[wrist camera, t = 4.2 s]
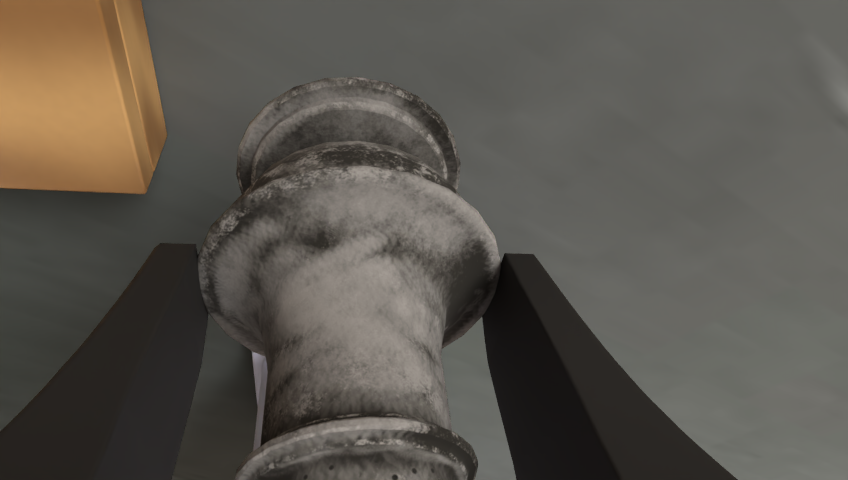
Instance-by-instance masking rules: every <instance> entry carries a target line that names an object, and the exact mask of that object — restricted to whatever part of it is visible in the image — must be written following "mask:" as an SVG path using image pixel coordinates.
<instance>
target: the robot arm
mask: <svg viewBox="0 0 848 480" xmlns="http://www.w3.org/2000/svg"><path fill="white" fill-rule="evenodd" d="M197 258H198V254H197V248H196V244H169V243H160V244H159V245H158V246H156V247H155V248H154V250H153V251H152V253H151V254H150V256H149V257H148V259H147V260H146V261H145V263H144V264H143V266H142V267H141V269H140V270H139V271H138V273H137V274H136V276H135V277H134V279H133V280H132V281H131V283H130V284H129V285H128V287H127V288H126V289H125V291H124V292H123V293H122V295H121V296H120V297H119V299H118V300H117V301H116V303H115V304H114V305H113V307H112V308H111V309H110V310H109V312H108V313H107V314H106V315H105V317H104V318H103V319H102V320H101V322H100V323H99V324H98V325H97V327H96V328H95V329H94V330H93V332H92V333H91V334H90V335H89V337H88V338H87V339H86V340H85V341H84V343H83V344H82V345H81V346H80V347H79V348H78V350H77V351H76V352H75V353H74V354H73V355H72V356H71V357H70V359H69V360H68V361H67V362H66V363H65V364H64V365H63V366H62V368H61V369H60V370H59V371H58V372H57V373H56V374H55V376H54V377H53V378H52V379H51V380H50V381H49V382H48V383H47V385H46V386H45V387H44V388H43V389H42V390H41V391H40V392H39V393H38V394H37V395H36V396H35V397H34V398H33V399H32V400H31V401H30V402H29V403H28V405H27V406H26V407H25V408H24V409H23V410H22V411H21V412H20V413H19V414H18V415H17V416H16V417H15V418H14V419H13V420H12V421H11V422H10V423H9V424H8V425H7V426H5V427H4V428H3V429H2V430H1V431H0V480H172V475H173V471H174V468H175V464H176V460H177V456H178V452H179V449H180V445H181V441H182V437H183V433H184V430H185V426H186V422H187V418H188V414H189V411H190V407H191V403H192V399H193V395H194V391H195V388H196V384H197V380H198V376H199V372H200V368H201V364H202V357H203V350H204V343H205V335H206V328H207V320H208V312H207V310H206V307H205V304H204V301H203V297H202V294H201V288H200V282H199V274H198V265H197ZM482 318H483V327H484V336H485V344H486V352H487V359H488V365H489V369H490V373H491V377H492V381H493V386H494V390H495V394H496V398H497V402H498V406H499V409H500V413H501V417H502V421H503V425H504V429H505V433H506V437H507V441H508V445H509V449H510V453H511V457H512V461H513V465H514V470H515V474H516V479H517V480H737V479H736V478H735V477H734V476H733V475H731V474H730V473H729V472H728V471H727V470H726V469H724V468H723V467H722V466H721V465H720V464H719V463H718V462H716V461H715V460H714V459H713V458H712V457H711V456H710V455H708V454H707V453H706V452H705V451H704V450H703V449H702V448H700V447H699V446H698V445H697V444H696V443H695V442H694V441H693V440H692V439H690V438H689V437H688V436H687V435H686V434H685V433H684V432H683V431H682V430H681V429H680V428H679V427H678V426H677V425H676V424H675V423H674V422H673V421H672V420H671V419H670V418H669V417H668V416H667V415H666V414H665V413H664V412H663V411H662V410H661V409H660V408H659V407H658V406H657V405H656V404H655V403H653V402H652V401H651V399H650V398H649V397H648V396H647V395H646V394H645V393H644V392H643V391H642V390H641V389H640V388H639V387H638V386H637V385H636V383H635V382H634V381H633V380H632V379H631V378H630V377H629V376H628V374H627V373H626V372H625V371H624V370H623V369H622V368H621V366H620V365H619V364H618V363H617V362H616V361H615V360H614V358H613V357H612V356H611V355H610V354H609V352H608V351H607V350H606V349H605V348H604V346H603V345H602V344H601V343H600V341H599V340H598V339H597V338H596V336H595V335H594V334H593V333H592V331H591V330H590V329H589V328H588V326H587V325H586V324H585V323H584V321H583V320H582V319H581V317H580V316H579V315H578V313H577V312H576V311H575V310H574V308H573V307H572V306H571V304H570V303H569V302H568V300H567V299H566V297H565V296H564V295H563V293H562V292H561V291H560V289H559V288H558V287H557V285H556V284H555V283H554V281H553V280H552V278H551V277H550V276H549V274H548V273H547V272H546V270H545V269H544V268H543V266H542V265H541V264H540V262H539V261H538V260H537V258H536V257H535V256H534V254H507V253H505V254H504V257H503V260H502V262H501V270H500V276H499V280H498V283H497V287H496V291H495V294H494V296H493V298H492V300H491V302H490V304H489V306H488V308H487V310H486V312H485V313H484V315H483V316H482ZM252 360H253V369H254V378H255V388H256V397H257V406H258V411H257V420H256V429H255V438H254V447H253V451H254V450H256V449H257V448H259V447H260V443H261V434H262V424H263V414H264V404H265V394H266V384H267V374H268V370H267V362H266V357H265V356H262V355H260V354H257V353H255V352H253V351H252Z"/></svg>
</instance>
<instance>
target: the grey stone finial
mask: <svg viewBox="0 0 848 480" xmlns="http://www.w3.org/2000/svg"><path fill="white" fill-rule="evenodd" d="M459 174H460V159H459V155H458V151H457V148H456V144H455V140H454V136H453V135H452V133H451V132H450V130H449V129H448V127H447V125H446V124H445V122H444V121H443V119H442V118H441V116H440V115H439V114H438V113H437V112H436V111H435V110H433V109H432V108H431V107H430V106H429V105H428V104H426V103H425V102H424V101H423V100H422V99H420V98H419V97H418V96H416V95H414V94H412V93H410V92H408V91H405V90H403V89H401V88H399V87H397V86H395V85H393V84H391V83H386V82H381V81H376V80H371V79H366V78H361V77H345V78H324V79H321V80H318V81H314V82H311V83H307V84H304V85H300V86H297V87H294V88H292V89H290V90H289V91H287V92H285V93H284V94H282V95H280V96H279V97H277V98H275V99H274V100H272V101H270V102H269V103H267V105H266V106H265V107H264V108H263V109H262V110H261V111H260V112H259V113H258V114H257V116H256V117H255V118H254V119H253V120H252V121H251V122H250V123H249V125H248V127H247V130H246V132H245V134H244V136H243V139H242V141H241V143H240V145H239V148H238V159H237V173H236V175H237V179H238V182H239V186H240V190H241V193H242V195H241V196H240V197H239V198H238V199H237V200H236V201H235V202H234V203H233V204H232V205H231V206H230V207H229V208H228V209H227V210H226V211H225V212H224V213H223V214H222V216H221V217H220V218H219V219H218V220H217V221H216V222H215V223H214V224H213V225H212V226H211V227H210V230H209V232H208V234H207V236H206V238H205V241H204V243H203V245H202V247H201V250H200V252H199V254H198V258H197V265H198V274H199V282H200V288H201V294H202V297H203V301H204V304H205V307H206V310H207V312H208V313H209V314H210V315H211V316H212V317H213V319H214V320H215V321H216V322H217V323H218V324H219V325H220V327H221V328H222V329H223V330H224V331H225V332H226V333H227V334H228V335H229V336H230V337H232V338H233V339H235V340H236V341H238V342H239V343H241V344H242V345H244V346H245V347H247V348H248V349H250V350H251V351H253V352H255V353H257V354H260V355H262V356H265V357H266V362H267V370H268V374H267V384H266V394H265V404H264V414H263V424H262V434H261V443H260V447H259V448H257V449H256V450H254V451H253V452H251V453H250V454H249V455H248V456H247V457H246V459H245V460H244V461H243V462H242V464H241V465H240V466H239V467H238V469H237V472H236V478H235V480H474V479H475V477H476V472H477V467H478V461H477V457H476V455H475V453H474V450H473V448H472V446H471V445H470V444H469V443H468V442H466V441H465V440H464V439H463V438H461V437H460V436H459V435H458V434H456V433H455V432H453V431H452V426H451V419H450V412H449V406H448V399H447V392H446V386H445V379H444V372H443V366H442V359H441V351H442V348H444V347H446V346H447V345H449V344H450V343H452V342H453V341H455V340H456V339H458V338H460V337H461V336H463V335H464V334H465V333H466V332H467V331H468V330H469V329H470V328H471V327H472V326H473V325H474V324H475V323H476V322H477V321H478V320H479V319H480V318H481V317H482V316H483V315H484V313H485V312H486V310H487V308H488V306H489V304H490V302H491V300H492V298H493V296H494V294H495V291H496V287H497V283H498V280H499V276H500V270H501V261H500V257H499V253H498V249H497V244H496V240H495V236H494V234H493V233H492V231H491V230H490V228H489V227H488V225H487V224H486V222H485V221H484V220H483V218H482V217H481V215H480V214H479V212H478V211H477V210H476V209H475V208H474V207H472V206H471V205H470V204H468V203H467V202H466V201H464V200H463V199H462V198H461V196H460V195H459V193H458V192H457V191H456V190H457V188H458V185H459Z"/></svg>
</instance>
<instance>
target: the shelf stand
mask: <svg viewBox="0 0 848 480" xmlns="http://www.w3.org/2000/svg"><path fill="white" fill-rule="evenodd" d="M166 138H167V131H166V126H165V121H164V116H163V111H162V106H161V101H160V95H159V90H158V85H157V80H156V75H155V70H154V65H153V60H152V55H151V49H150V44H149V39H148V34H147V29H146V24H145V19H144V14H143V9H142V3H141V0H0V188H7V189H31V190H55V191H78V192H102V193H126V194H145V193H146V192H147V189H148V186H149V184H150V181H151V178H152V176H153V172H154V170H155V168H156V165H157V162H158V159H159V157H160V154H161V151H162V149H163V146H164V143H165V140H166Z"/></svg>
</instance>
